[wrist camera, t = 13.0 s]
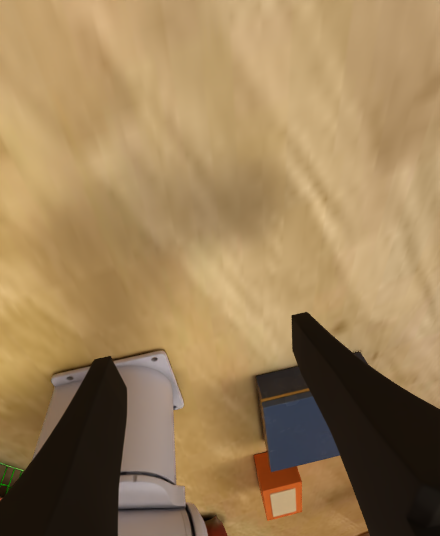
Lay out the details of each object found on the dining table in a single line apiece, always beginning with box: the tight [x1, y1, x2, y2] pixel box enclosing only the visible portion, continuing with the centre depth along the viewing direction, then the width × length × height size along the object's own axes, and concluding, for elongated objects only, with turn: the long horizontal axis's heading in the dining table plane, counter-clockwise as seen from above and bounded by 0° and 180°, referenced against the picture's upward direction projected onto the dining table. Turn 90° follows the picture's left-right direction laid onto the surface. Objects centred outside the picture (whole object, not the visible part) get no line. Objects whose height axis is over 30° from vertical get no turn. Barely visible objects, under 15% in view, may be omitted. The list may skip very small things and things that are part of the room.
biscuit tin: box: [256, 352, 368, 472], centre depth 33 cm, size 11×12×4 cm
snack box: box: [254, 452, 302, 521], centre depth 40 cm, size 9×5×4 cm, turn 8°
